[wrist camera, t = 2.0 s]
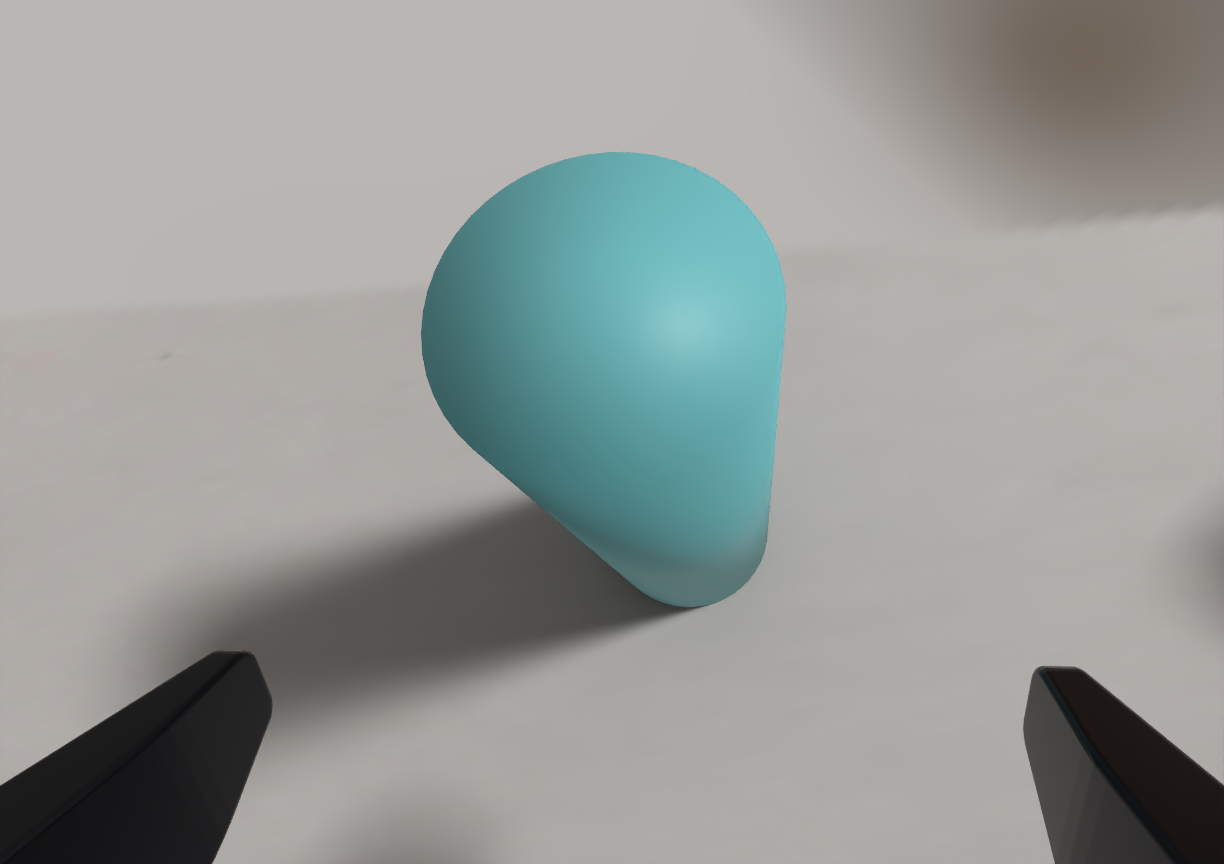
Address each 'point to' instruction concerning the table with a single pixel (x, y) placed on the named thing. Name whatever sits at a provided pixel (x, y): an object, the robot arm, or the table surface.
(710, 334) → the dowel
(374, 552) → the table surface
